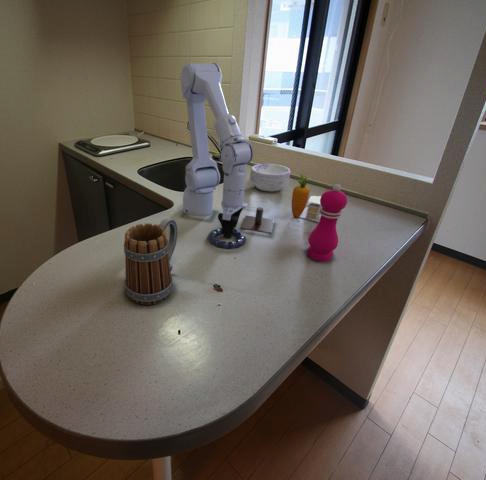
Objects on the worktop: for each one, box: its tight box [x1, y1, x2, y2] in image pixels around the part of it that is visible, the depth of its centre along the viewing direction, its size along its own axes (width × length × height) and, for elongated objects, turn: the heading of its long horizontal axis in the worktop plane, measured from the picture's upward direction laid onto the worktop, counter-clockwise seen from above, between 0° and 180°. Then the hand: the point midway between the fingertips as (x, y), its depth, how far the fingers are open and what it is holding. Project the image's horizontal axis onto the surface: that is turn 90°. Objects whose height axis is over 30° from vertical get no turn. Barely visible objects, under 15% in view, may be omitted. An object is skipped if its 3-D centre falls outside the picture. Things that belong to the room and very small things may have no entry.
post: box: [240, 206, 275, 234], centre depth 96 cm, size 9×9×6 cm
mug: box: [123, 217, 179, 306], centre depth 69 cm, size 16×11×15 cm
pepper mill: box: [306, 183, 348, 263], centre depth 80 cm, size 7×7×20 cm
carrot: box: [291, 173, 311, 220], centre depth 99 cm, size 5×5×15 cm
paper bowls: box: [249, 163, 291, 192], centre depth 125 cm, size 15×15×8 cm
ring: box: [207, 227, 247, 250], centre depth 89 cm, size 11×11×2 cm
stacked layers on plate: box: [299, 195, 322, 223], centre depth 105 cm, size 10×9×6 cm
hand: (229, 231), depth 92 cm, fingers open, 6 cm apart
